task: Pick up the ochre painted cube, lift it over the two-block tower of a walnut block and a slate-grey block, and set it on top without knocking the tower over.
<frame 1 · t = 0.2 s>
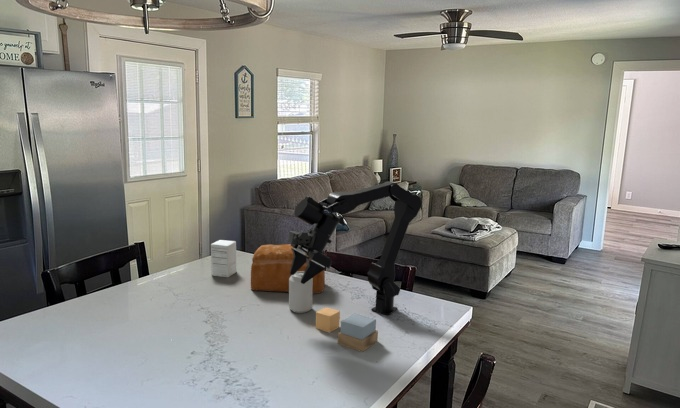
hand: (296, 278, 145), 15 cm above the table, tool tilted 30°, fingers open, 9 cm apart
bread: (288, 287, 181), on the table
walnut base block: (357, 343, 138), on the table, touching slate block
supplement box: (224, 274, 194), on the table
ochre cube: (327, 327, 148), on the table
can: (300, 309, 161), on the table
slate block: (358, 331, 138), point 3 cm above the table, touching walnut base block
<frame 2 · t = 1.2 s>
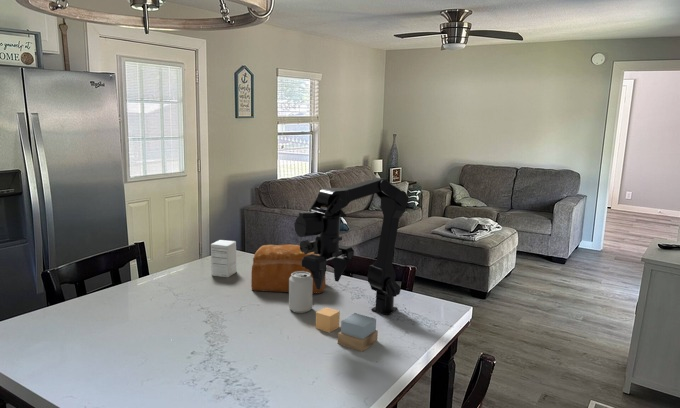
hand: (327, 285, 145), 13 cm above the table, tool pointing down, fingers open, 9 cm apart
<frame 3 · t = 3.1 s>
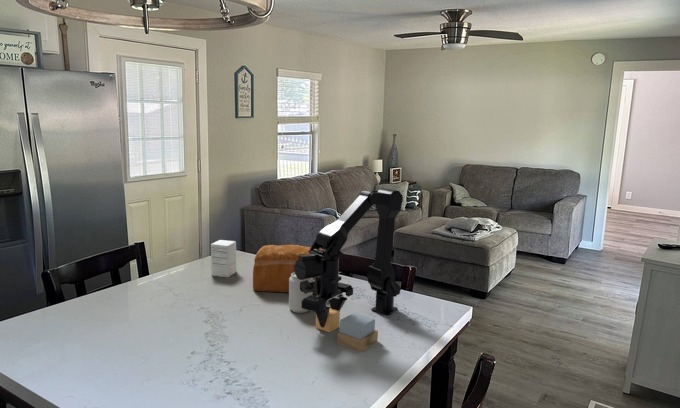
hand: (327, 324, 147), 1 cm above the table, tool pointing down, fingers closed on ochre cube, 5 cm apart
ochre cube: (327, 327, 148), on the table, touching gripper
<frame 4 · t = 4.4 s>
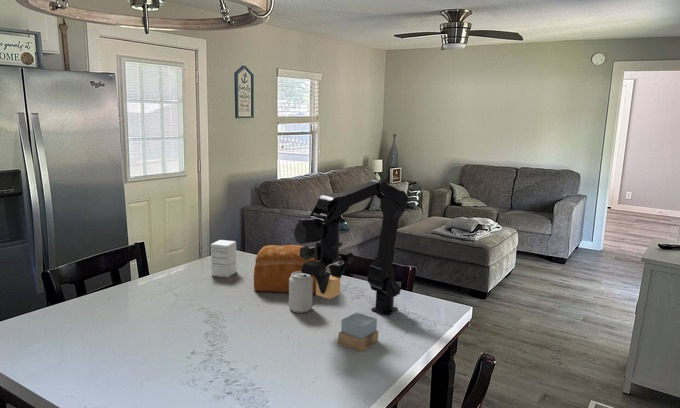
hand: (328, 290, 146), 11 cm above the table, tool pointing down, fingers closed on ochre cube, 5 cm apart
ochre cube: (327, 294, 146), point 10 cm above the table, touching gripper
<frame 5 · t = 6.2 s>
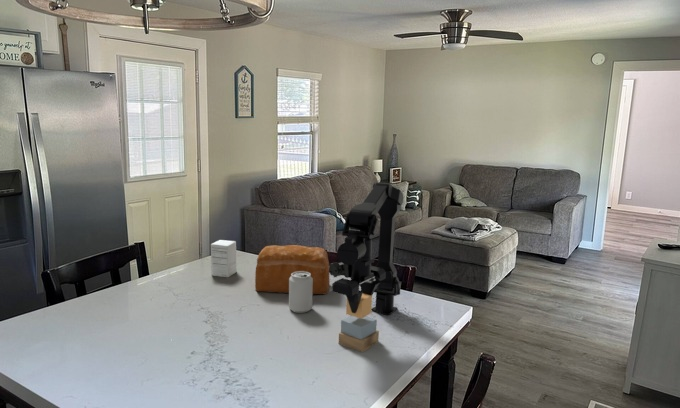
hand: (359, 309, 137), 10 cm above the table, tool pointing down, fingers closed on ochre cube, 5 cm apart
ochre cube: (358, 313, 137), point 8 cm above the table, touching gripper
when the fingers open (9 cm above the table, at t = 6.7 s): ochre cube drops 1 cm, point 7 cm above the table.
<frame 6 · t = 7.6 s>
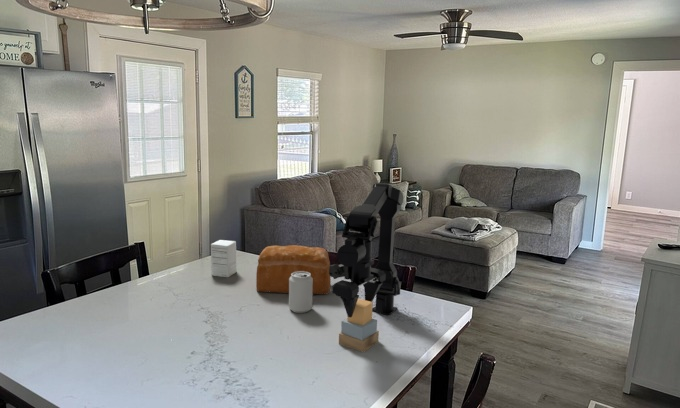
hand: (358, 311, 137), 9 cm above the table, tool pointing down, fingers open, 9 cm apart
ochre cube: (359, 320, 137), point 7 cm above the table
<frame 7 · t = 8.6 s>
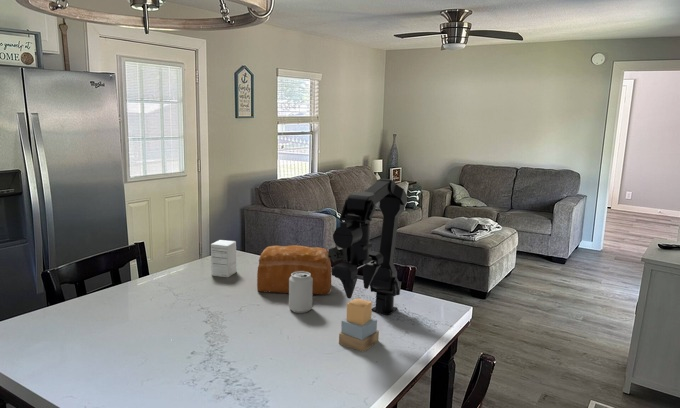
hand: (357, 293, 141), 13 cm above the table, tool pointing down, fingers open, 9 cm apart
walnut base block: (358, 343, 138), on the table
ochre cube: (358, 319, 137), point 7 cm above the table, touching slate block
slate block: (359, 332, 138), point 3 cm above the table, touching ochre cube
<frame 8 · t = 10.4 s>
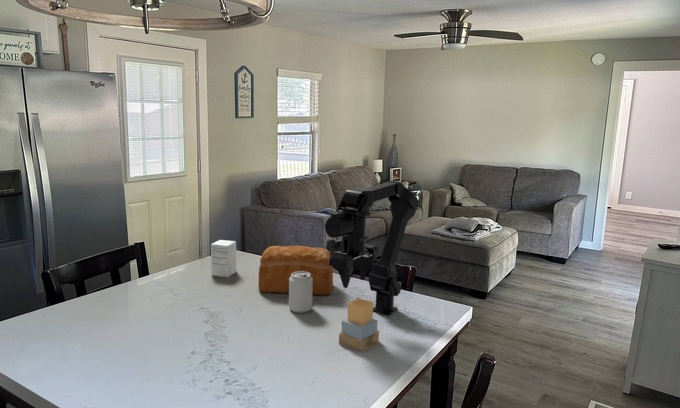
hand: (353, 283, 147), 13 cm above the table, tool pointing down, fingers open, 9 cm apart
at the end: ochre cube 0.3 cm off-centre on the slate block, point 3.5 cm above the slate block's base; slate block 0.3 cm off-centre on the walnut base block, point 3.5 cm above the walnut base block's base; walnut base block moved 0.5 cm from its start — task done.
